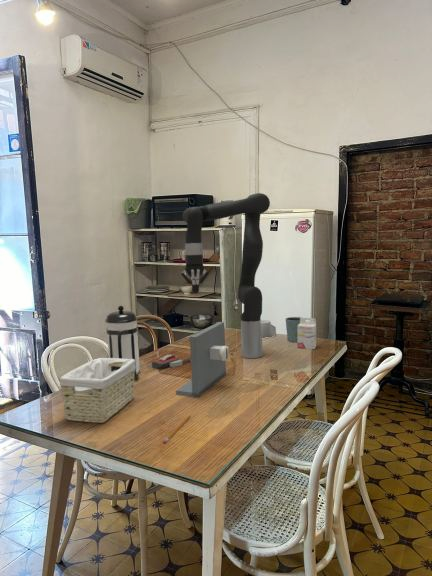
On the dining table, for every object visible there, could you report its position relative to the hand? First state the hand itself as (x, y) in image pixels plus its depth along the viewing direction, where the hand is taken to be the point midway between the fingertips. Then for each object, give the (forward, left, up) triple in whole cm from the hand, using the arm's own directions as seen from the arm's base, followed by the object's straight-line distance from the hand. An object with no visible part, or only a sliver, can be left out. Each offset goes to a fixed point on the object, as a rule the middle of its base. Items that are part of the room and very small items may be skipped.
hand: (195, 292), depth 188 cm
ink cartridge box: (-56, -9, -32) cm, 65 cm away
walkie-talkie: (+11, -2, -33) cm, 35 cm away
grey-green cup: (-56, -24, -32) cm, 69 cm away
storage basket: (+40, +41, -32) cm, 66 cm away
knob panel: (+1, +28, -32) cm, 43 cm away
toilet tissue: (-44, -38, -32) cm, 66 cm away
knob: (-4, +32, -22) cm, 39 cm away
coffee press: (+32, +11, -32) cm, 47 cm away
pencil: (+16, +63, -32) cm, 73 cm away
